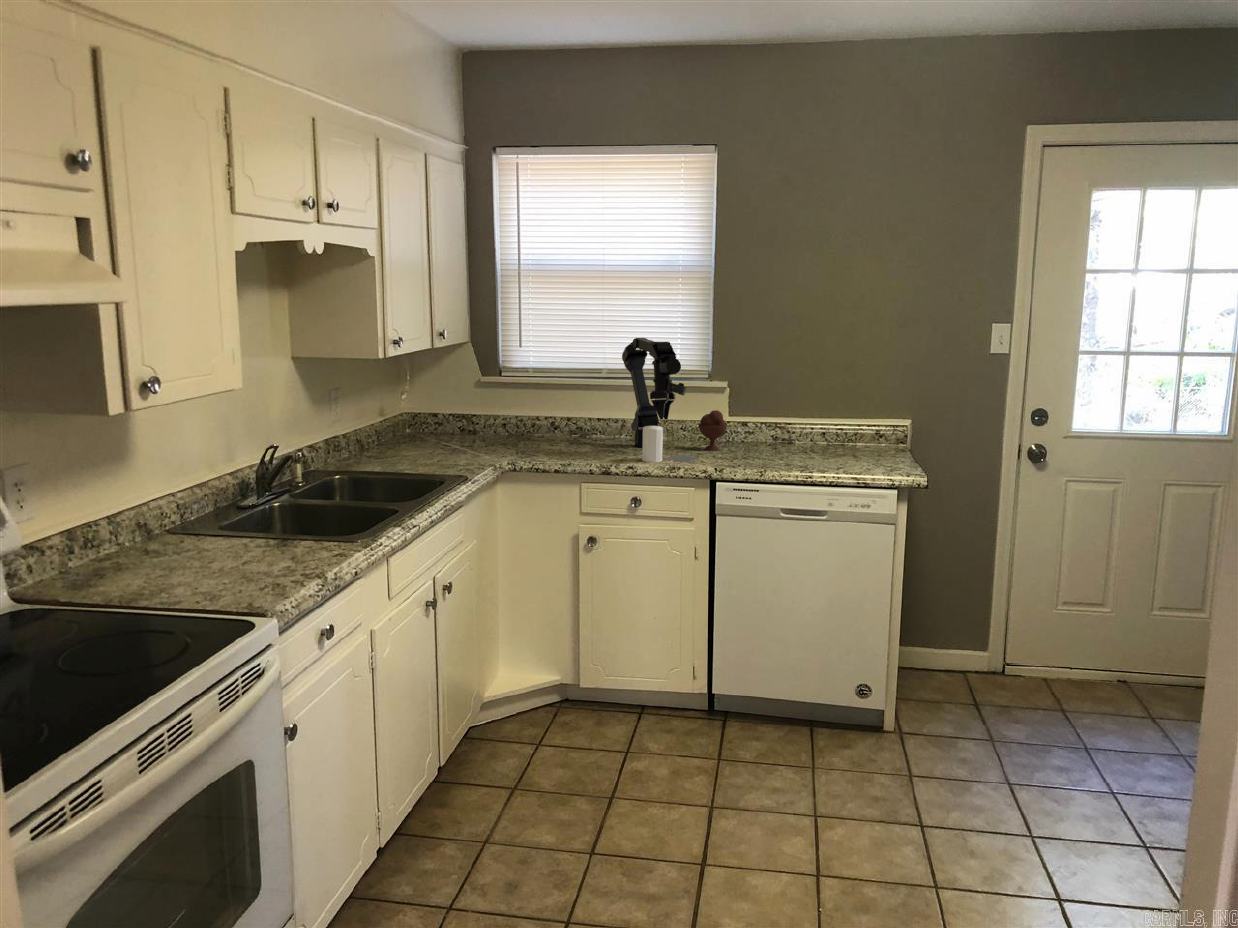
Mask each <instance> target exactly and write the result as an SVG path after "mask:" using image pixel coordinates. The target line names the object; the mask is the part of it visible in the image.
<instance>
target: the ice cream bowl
mask: <svg viewBox="0 0 1238 928" xmlns="http://www.w3.org/2000/svg"><path fill="white" fill-rule="evenodd" d="M727 428H728V424H726V421H725V420H724V415H723V413H722V412H721V410H714V409H713V410H712V411H710V412H709V413H707V414H703V416H702V417H701V419H700V423H698V429H699V432H700V434H702V435H703V436H704V437H705V438H707V439H708V440H709V445H707V446H706V447H705V448H704V450H705V451H710V452H713V451H714V452H715V451H717V452H718V451H720V448H719V447H718V446H716V443H715V440H717V439H719V438H721V437H722V436H723V435H724V434H726V431H727Z"/></svg>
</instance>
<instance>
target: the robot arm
mask: <svg viewBox="0 0 1238 928" xmlns="http://www.w3.org/2000/svg"><path fill="white" fill-rule="evenodd" d="M622 351H623V352H622V354H621V359H622V361H623V364H624V368H625V369H626V370H627V371H628V372H629V373H630V377H631V382H632V388H633V390H634V391H633V392H634V397H635V401H636V406H637V407H636V410H635V412H634V418H633V420H632V422H631V430H632V431H634V444H632V447H635V446H636V447H637V448H643V427H644V426H659V421H660V420H668V419H669V414H670V410H671V405H672V404H673V403H674V402H675V400H676V394H678V395H680V396H685V393H686V391H687V387H686V386H685V384H684V383H683V382H679V383H678V384H677V383H674V382H673V380H672V379H671V375H676V374H678V373H679V372H680V371H681V369H682V364H681V362H680V360H679V359H677V356H676V355H677V354H676V352H675V350H674V348H673V346H672V344H671V342H670V341H654V340H652V339H648V338H646V337H635V338H633V340H632V342H631V343H629V344H628V345H627V346H625V348H624V350H622ZM648 355H649V356H650V357H652V359H653V361H652V362H651V364H652V366H653V379H652V383H654V390H652V391H651V392H650V393H649V392H648V389H647V384H646V379H645V375H644V370H643V369H644V366H645V364H646V359H647V356H648ZM650 401H651V403H652V404H651V403H650Z"/></svg>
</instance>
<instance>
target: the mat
mask: <svg viewBox="0 0 1238 928" xmlns="http://www.w3.org/2000/svg"><path fill="white" fill-rule="evenodd" d="M698 459H700V457H696V456H688V455H682V454H681V455H680V454H676V455H673V456H669V457H666V458H664V460H670V461H679V462H686V463H689V462H692V461H695V460H698Z"/></svg>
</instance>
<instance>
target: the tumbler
mask: <svg viewBox="0 0 1238 928" xmlns="http://www.w3.org/2000/svg"><path fill="white" fill-rule="evenodd" d="M642 428H643V447H642V451H641V452H642V454H641V455H642V458H641V460H642V461H643V462H646V463H647V462H648V463H658V462H659V463H660V462H663V442H664V440H663V437H664V427H663V426H659V425H658V426H644V427H642Z"/></svg>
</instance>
